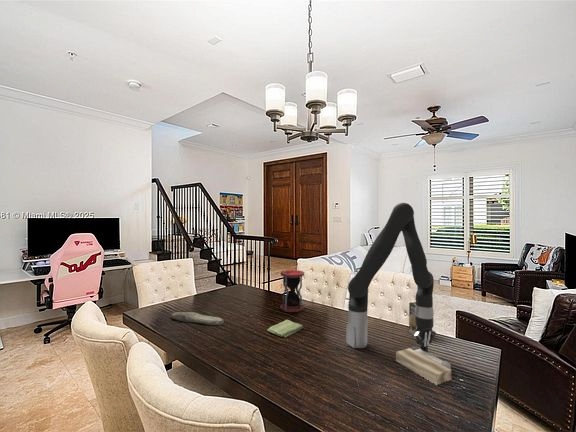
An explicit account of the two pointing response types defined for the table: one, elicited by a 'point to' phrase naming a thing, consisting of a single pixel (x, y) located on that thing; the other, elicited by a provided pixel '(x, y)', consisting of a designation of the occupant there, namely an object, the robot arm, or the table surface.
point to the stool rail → (423, 366)
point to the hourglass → (292, 291)
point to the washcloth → (285, 328)
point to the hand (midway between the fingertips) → (424, 353)
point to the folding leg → (431, 357)
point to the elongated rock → (197, 318)
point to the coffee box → (412, 317)
